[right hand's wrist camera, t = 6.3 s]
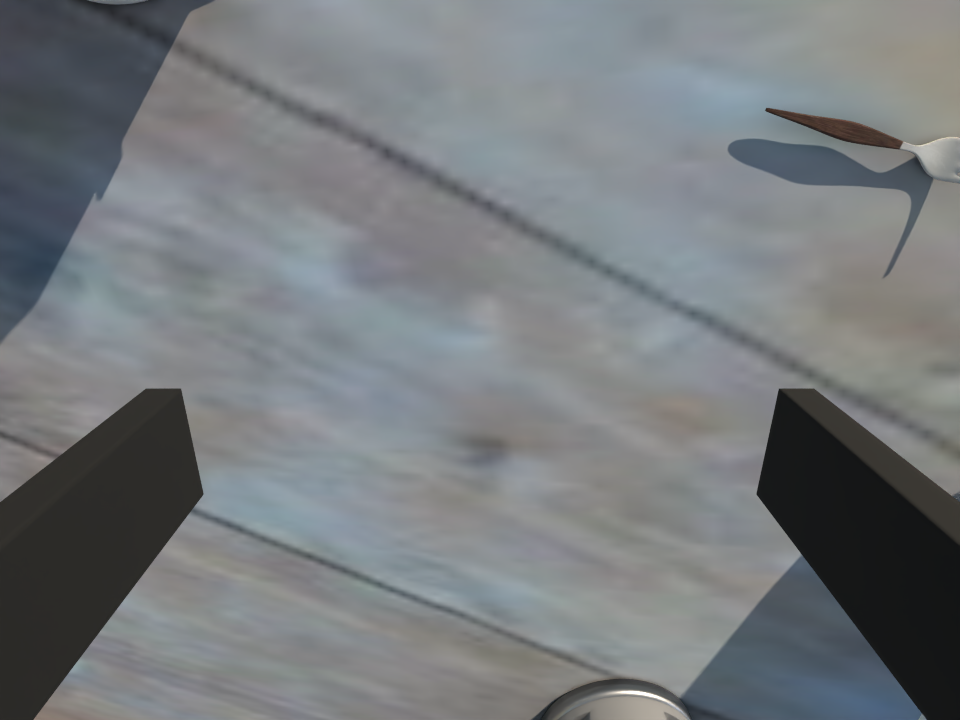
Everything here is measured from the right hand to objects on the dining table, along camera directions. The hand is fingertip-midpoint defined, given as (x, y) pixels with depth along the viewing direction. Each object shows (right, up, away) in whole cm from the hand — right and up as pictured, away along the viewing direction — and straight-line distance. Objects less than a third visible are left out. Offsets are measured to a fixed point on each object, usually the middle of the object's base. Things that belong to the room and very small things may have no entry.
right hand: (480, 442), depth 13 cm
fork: (+25, +16, +24) cm, 38 cm away
